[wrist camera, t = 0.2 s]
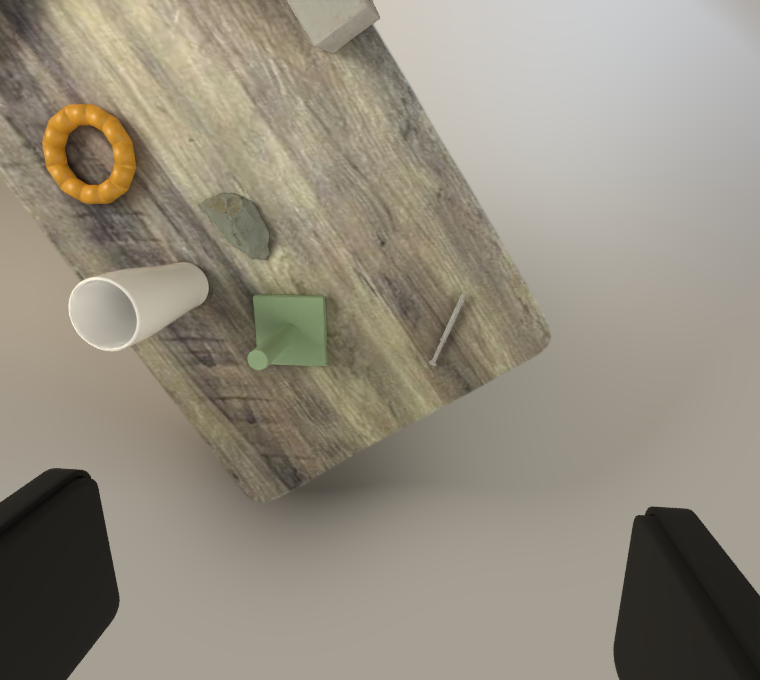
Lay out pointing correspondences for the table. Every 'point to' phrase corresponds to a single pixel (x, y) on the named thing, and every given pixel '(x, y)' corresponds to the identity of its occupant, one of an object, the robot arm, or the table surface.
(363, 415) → the table surface
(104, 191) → the ring
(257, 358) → the rack
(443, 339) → the wall anchor
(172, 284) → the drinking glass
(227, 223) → the rock
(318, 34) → the toppled traffic bollard
